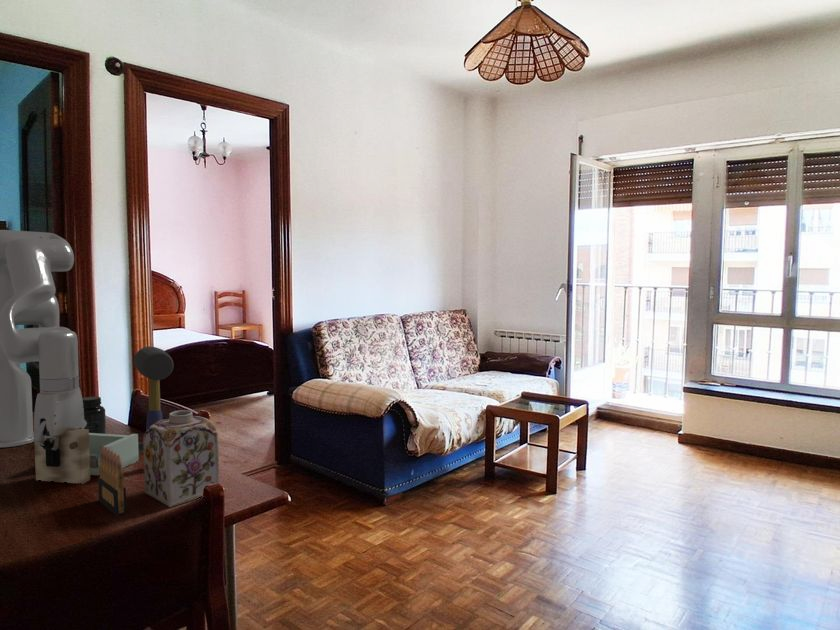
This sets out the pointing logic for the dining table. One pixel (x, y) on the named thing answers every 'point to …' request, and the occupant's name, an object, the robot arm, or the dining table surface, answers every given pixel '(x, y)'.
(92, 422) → the supplement bottle
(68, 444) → the wooden block
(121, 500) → the ammunition clip
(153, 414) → the rubber mallet
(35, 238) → the robot arm
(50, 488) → the dining table surface
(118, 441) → the cabinet
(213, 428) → the decorative jar
